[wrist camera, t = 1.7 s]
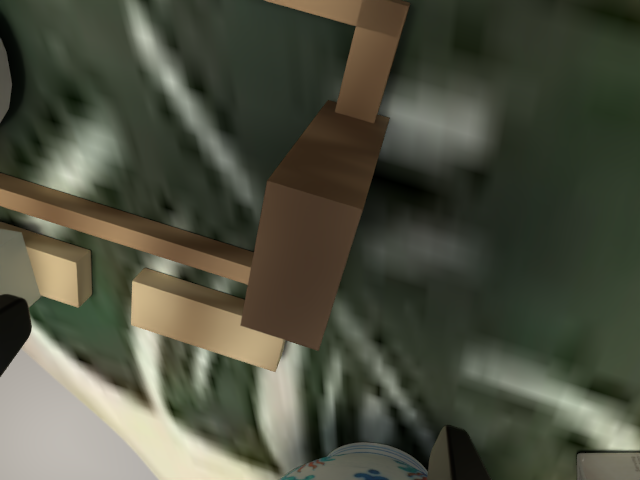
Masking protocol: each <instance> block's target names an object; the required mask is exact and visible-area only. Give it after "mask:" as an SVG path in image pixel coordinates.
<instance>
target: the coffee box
mask: <svg viewBox="0 0 640 480" xmlns="http://www.w3.org/2000/svg"><path fill="white" fill-rule="evenodd" d="M577 480H640V453H579V454H578V455H577Z"/></svg>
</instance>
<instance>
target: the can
mask: <svg viewBox="0 0 640 480" xmlns="http://www.w3.org/2000/svg"><path fill="white" fill-rule="evenodd" d="M11 89H12V81H11V75H10V69H9V64H8V58H7V53H6V49H5V47H4V45H3V42H2V40H1V38H0V123H1V121H2V119H3V118H4V116H5V114H6V112H7V111H8V109H9V104H10V96H11Z"/></svg>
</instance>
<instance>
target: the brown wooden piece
mask: <svg viewBox="0 0 640 480" xmlns="http://www.w3.org/2000/svg"><path fill="white" fill-rule="evenodd" d="M265 1H268V2H272V3H275V4H279V5H282V6H286V7H289V8H293V9H297V10H300V11H304V12H307V13H311V14H314V15H318V16H321V17H325V18H328V19H332V20H336V21H339V22H343V23H346V24H350V25H353V26H356V28H355V32H354V36H353V40H352V44H351V48H350V52H349V56H348V60H347V64H346V69H345V73H344V77H343V81H342V85H341V89H340V93H339V97H338V101H337V102H333V101H330V100H328V101H327V102H326V103H325V105H324V106H323V107H322V109H321V110H320V111H319V113H318V114H317V115H316V116H315V118H314V119H313V120H312V122H311V123H310V124H309V126H308V127H307V128H306V130H305V131H304V132H303V134H302V135H301V136H300V138H299V139H298V140H297V142H296V143H295V144H294V146H293V147H292V148H291V150H290V151H289V152H288V154H287V155H286V156H285V158H284V159H283V160H282V162H281V163H280V164H279V166H278V167H277V168H276V170H275V171H274V172H273V174H272V175H271V176H270V178H269V179H268V180H267V184H266V190H265V195H264V201H263V206H262V211H261V217H260V222H259V227H258V233H257V238H256V244H255V249H254V252H251V251H248V250H245V249H241V248H238V247H235V246H232V245H229V244H226V243H222V242H219V241H216V240H213V239H210V238H206V237H203V236H200V235H197V234H194V233H190V232H187V231H184V230H181V229H178V228H174V227H171V226H168V225H165V224H162V223H159V222H155V221H152V220H149V219H146V218H143V217H139V216H136V215H133V214H130V213H127V212H123V211H120V210H117V209H114V208H111V207H107V206H104V205H101V204H98V203H95V202H91V201H88V200H85V199H82V198H79V197H76V196H72V195H69V194H66V193H63V192H60V191H56V190H53V189H50V188H47V187H44V186H40V185H37V184H34V183H31V182H28V181H24V180H21V179H18V178H15V177H12V176H8V175H5V174H2V173H0V206H2V207H5V208H8V209H11V210H15V211H18V212H21V213H24V214H27V215H30V216H34V217H37V218H40V219H43V220H46V221H49V222H52V223H56V224H59V225H62V226H65V227H68V228H71V229H74V230H78V231H81V232H84V233H87V234H90V235H93V236H96V237H100V238H103V239H106V240H109V241H112V242H115V243H119V244H122V245H125V246H128V247H131V248H134V249H137V250H141V251H144V252H147V253H150V254H153V255H156V256H159V257H163V258H166V259H169V260H172V261H175V262H178V263H182V264H185V265H188V266H191V267H194V268H197V269H200V270H204V271H207V272H210V273H213V274H216V275H219V276H222V277H226V278H229V279H232V280H235V281H238V282H241V283H244V284H248V287H247V292H246V297H245V303H244V308H243V314H242V319H241V324H240V326H243V327H246V328H249V329H252V330H256V331H259V332H262V333H265V334H268V335H271V336H274V337H277V338H280V339H283V340H287V341H290V342H293V343H296V344H299V345H302V346H305V347H308V348H311V349H314V350H318V351H319V348H320V345H321V342H322V338H323V335H324V332H325V329H326V326H327V322H328V319H329V316H330V313H331V310H332V307H333V303H334V300H335V297H336V294H337V291H338V287H339V284H340V281H341V278H342V275H343V271H344V268H345V265H346V262H347V259H348V256H349V252H350V249H351V246H352V243H353V240H354V236H355V233H356V230H357V227H358V224H359V221H360V217H361V214H362V211H363V208H364V204H365V201H366V197H367V194H368V191H369V187H370V184H371V181H372V177H373V174H374V170H375V167H376V164H377V160H378V157H379V153H380V150H381V147H382V143H383V140H384V136H385V133H386V130H387V126H388V123H389V119H390V118H388V117H385V116H381V115H378V111H379V107H380V104H381V101H382V97H383V94H384V91H385V87H386V84H387V80H388V77H389V74H390V70H391V67H392V64H393V60H394V57H395V54H396V50H397V47H398V43H399V40H400V37H401V33H402V30H403V27H404V23H405V20H406V16H407V13H408V10H409V6H410V3H409V2H405V1H401V0H265Z"/></svg>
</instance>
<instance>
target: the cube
mask: <svg viewBox="0 0 640 480" xmlns="http://www.w3.org/2000/svg"><path fill="white" fill-rule="evenodd" d="M3 294H11V295H15V296H18V297H21V298H24V299H25V300H26V301H27V303H28V307H30V306H31V305H32V304H33V303H35V302H36V301H37V300H38V299H39V298H40V297H41V296H40V292H39V289H38V286H37V282H36V279H35V276H34V272H33V269H32V266H31V262H30V259H29V256H28V252H27V249H26V246H25V242H24V239H23V236H22V232H17V231H11V230H5V229H0V295H3Z"/></svg>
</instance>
